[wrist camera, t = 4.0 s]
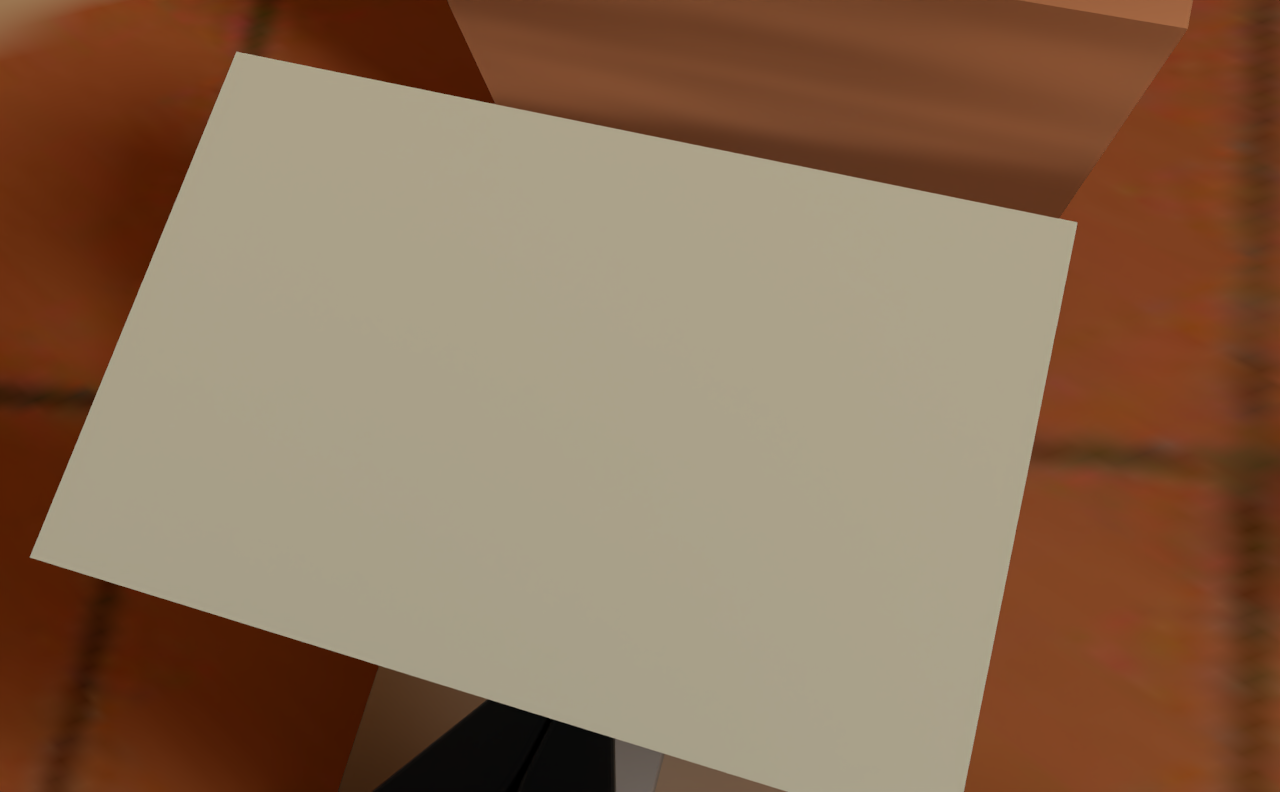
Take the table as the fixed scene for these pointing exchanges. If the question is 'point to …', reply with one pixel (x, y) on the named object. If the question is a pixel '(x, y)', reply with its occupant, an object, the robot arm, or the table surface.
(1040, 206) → the track
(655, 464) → the block
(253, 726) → the table surface
